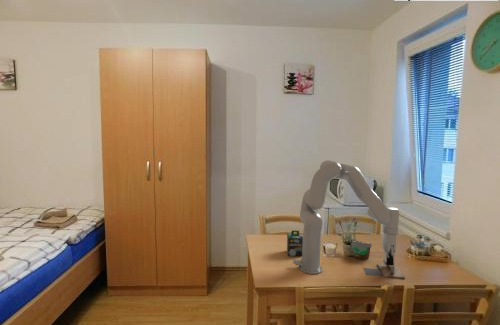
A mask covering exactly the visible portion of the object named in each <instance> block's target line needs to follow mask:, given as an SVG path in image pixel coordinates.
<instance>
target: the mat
mask: <svg viewBox="0 0 500 325" xmlns="http://www.w3.org/2000/svg"><path fill="white" fill-rule="evenodd" d="M362 269H363V271H364V273H365V275H366V276H373V277H374V276H375V277H384V276H383V275H382V273H381V271H380V270H379V268H370V267H363V268H362Z"/></svg>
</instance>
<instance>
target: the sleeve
mask: <svg viewBox="0 0 500 325" xmlns="http://www.w3.org/2000/svg"><path fill="white" fill-rule="evenodd" d="M389 252H391V251H389ZM395 253H396V252H395ZM395 253H394V259H393V266H394V265H395V256H396V254H395ZM390 254H391V253H389V255H390ZM387 257H388V252H385V250H384V249H383V260H382V261H383V264H385V265H387Z"/></svg>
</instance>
